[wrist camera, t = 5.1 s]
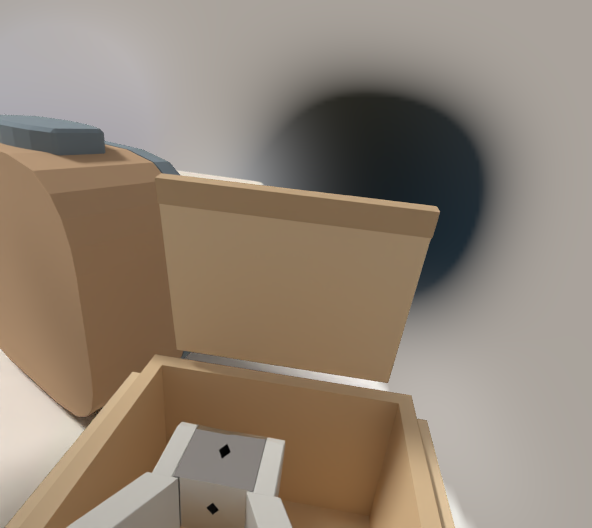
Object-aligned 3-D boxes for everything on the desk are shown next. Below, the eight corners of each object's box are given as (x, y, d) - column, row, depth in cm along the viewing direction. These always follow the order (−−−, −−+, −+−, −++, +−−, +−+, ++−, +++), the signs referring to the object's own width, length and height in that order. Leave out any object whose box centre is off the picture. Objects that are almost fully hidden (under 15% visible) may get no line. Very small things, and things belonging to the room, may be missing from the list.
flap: (388, 383, 20) (440, 212, 15) (175, 349, 21) (154, 177, 16) (388, 374, 21) (437, 206, 16) (180, 342, 22) (161, 173, 17)
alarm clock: (203, 385, 34) (202, 138, 26) (103, 455, 27) (55, 141, 18) (81, 307, 44) (52, 111, 36) (-16, 342, 37) (-82, 105, 28)
